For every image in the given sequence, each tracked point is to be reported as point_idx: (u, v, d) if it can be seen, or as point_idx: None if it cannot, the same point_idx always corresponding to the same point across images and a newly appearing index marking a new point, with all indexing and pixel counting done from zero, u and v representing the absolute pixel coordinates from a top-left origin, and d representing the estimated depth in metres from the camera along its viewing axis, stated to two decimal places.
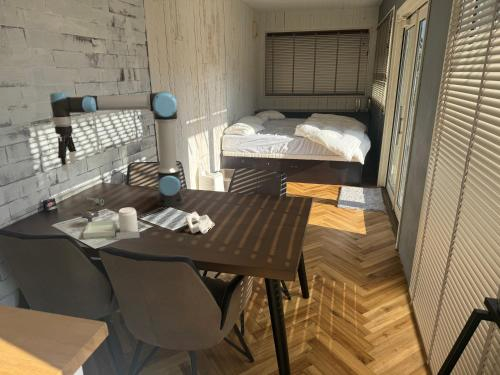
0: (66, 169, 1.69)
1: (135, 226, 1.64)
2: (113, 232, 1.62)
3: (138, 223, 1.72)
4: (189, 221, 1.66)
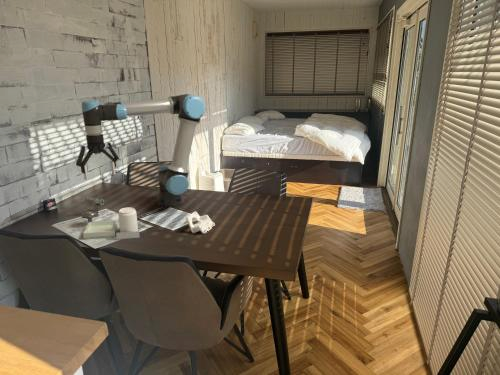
0: (85, 178, 1.67)
1: (135, 226, 1.64)
2: (113, 232, 1.62)
3: (138, 223, 1.72)
4: (189, 221, 1.67)
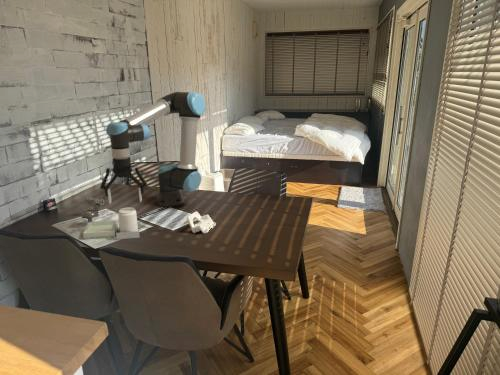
0: (109, 201, 1.60)
1: (135, 226, 1.64)
2: (113, 232, 1.62)
3: (138, 223, 1.72)
4: (190, 221, 1.67)
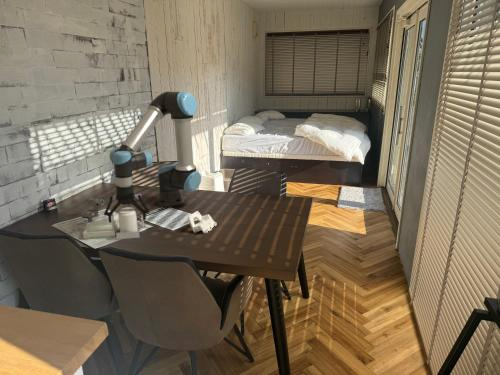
0: (112, 227, 1.63)
1: (135, 226, 1.64)
2: (113, 232, 1.62)
3: (138, 223, 1.72)
4: (191, 220, 1.67)
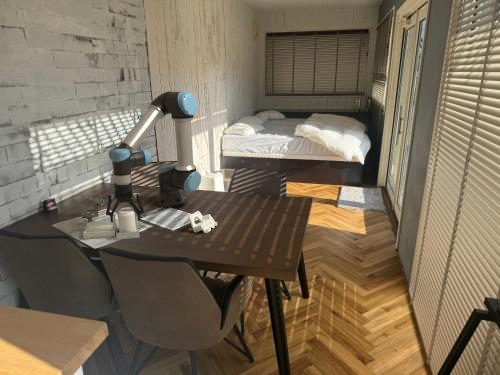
0: None
1: (134, 226, 1.64)
2: (113, 232, 1.62)
3: (138, 223, 1.72)
4: (192, 220, 1.67)
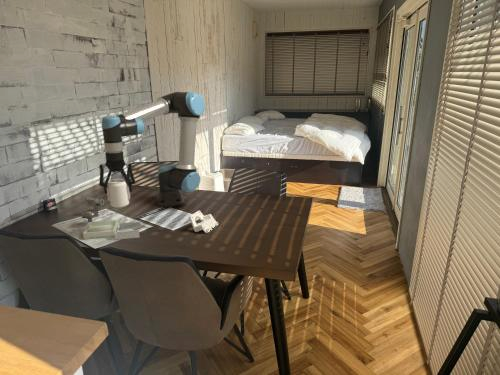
0: (108, 198, 1.60)
1: (126, 197, 1.60)
2: (113, 232, 1.62)
3: (138, 223, 1.72)
4: (192, 220, 1.68)
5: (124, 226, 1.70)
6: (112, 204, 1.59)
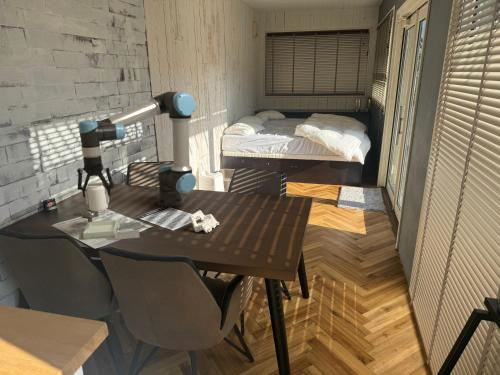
0: None
1: (104, 201, 1.62)
2: (113, 232, 1.62)
3: (138, 223, 1.72)
4: (193, 220, 1.68)
5: (124, 226, 1.70)
6: (90, 208, 1.60)
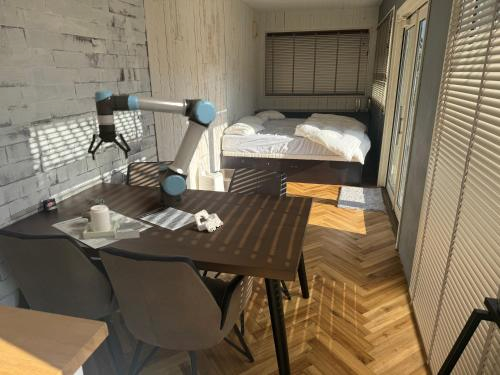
0: None
1: (107, 223, 1.65)
2: (113, 232, 1.62)
3: (138, 223, 1.72)
4: (197, 219, 1.69)
5: (124, 226, 1.70)
6: (93, 230, 1.64)
